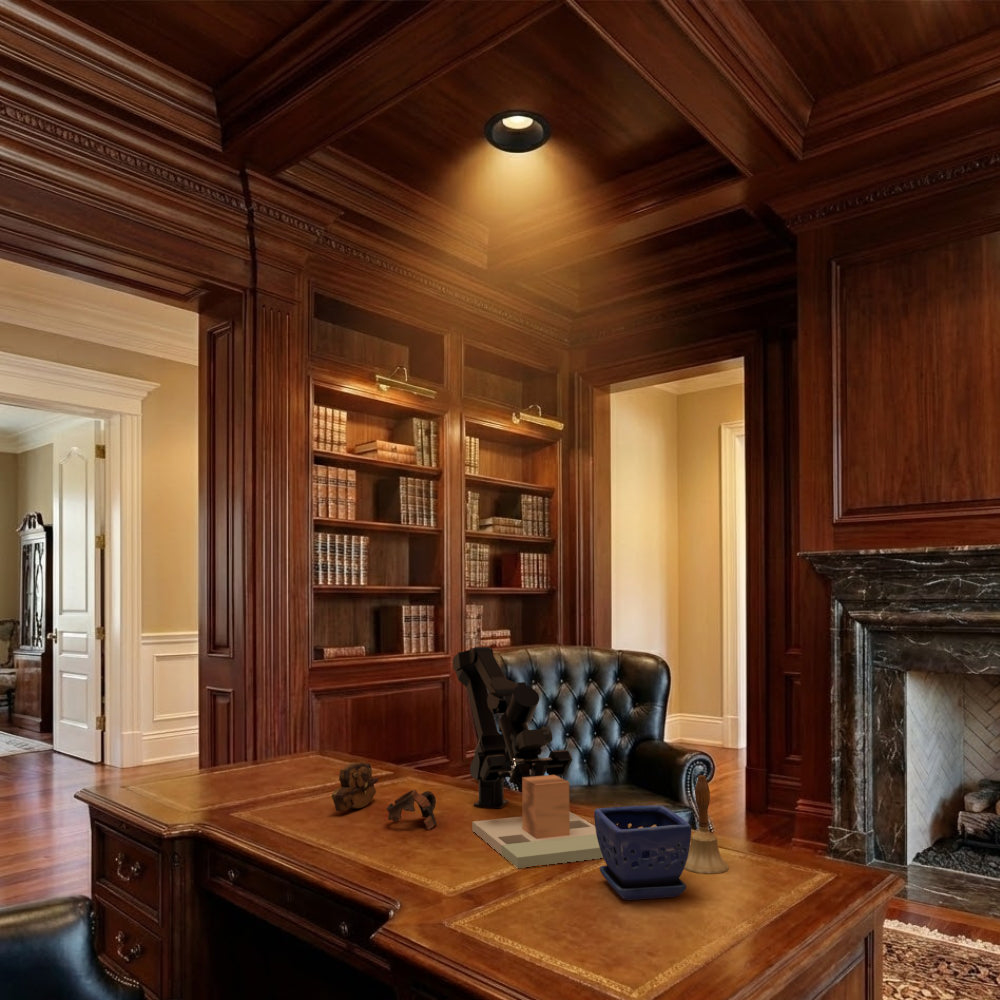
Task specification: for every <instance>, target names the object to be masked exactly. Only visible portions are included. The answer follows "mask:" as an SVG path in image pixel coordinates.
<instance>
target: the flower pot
mask: <svg viewBox="0 0 1000 1000" xmlns="http://www.w3.org/2000/svg"><path fill="white" fill-rule="evenodd" d="M593 812H594V813H593V816H594V826H595V829H596V835H597V839H598V843H599V847H600V850H601V853H602V855H603V860H604V862H605V864H606V865H602V866H600V867H599V871H600V873H601V875H602V877H603V878H604V879H605V880H606V881H607V883H608V884H609V885H610V886H611V888H613V890H614V891H615V892H616V893H617V894H618V895H619V896H620V897H621V898H622V899H623V900H626V901H632V900H633V901H634V900H635V901H636V900H647V899H650V900H651V899H661V898H663V899H664V898H675V897H678V896H680V895H682V893H684V891H686V889H687V884H686V883H685V882H684V881H682V879H681V878H680V877H681V876H682V875H683V871H684V870H685V869H684V867H685V865H686V862H687V858H688V854H689V849H690V845H691V836H692V826H691V825H690V823H688V822H687V821H686V820H685V819H684V818H682V817H681V816H680V815H678V814H677V813H676V812H674V811H673V810H671V809H669V808H668V807H666V806H664V805H660V804H659V805H658V804H656V805H655V804H654V805H630V806H629V805H628V806H617V807H616V806H614V807H613V806H612V807H601V808H595V809H594V811H593ZM629 825H630V827H629Z"/></svg>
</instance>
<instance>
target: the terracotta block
mask: <svg viewBox="0 0 1000 1000" xmlns="http://www.w3.org/2000/svg"><path fill="white" fill-rule="evenodd" d="M521 792H522V798H521V799H522V803H521V804H522V806H521V807H522V810H521V811H522V816H521V817H522V829H523V830H524V831H526V832H527V833H529V834H530V835H532V836H533V837H534V838H536V839H540V838H548V837H557V836H566V835H570V821H569V812H570V782H569V781H568V780H566V779H564V778H561V776H556V775H548V774H547V775H546V774H544V776H534V777H522V789H521Z"/></svg>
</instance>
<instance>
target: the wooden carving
mask: <svg viewBox="0 0 1000 1000" xmlns="http://www.w3.org/2000/svg"><path fill="white" fill-rule="evenodd" d="M372 769H373V768H372V766H371V764H370V763H369V762H368V763H365V762H360V761H359V762H350V763H348V764H346V765H345V766H344V767H343V768H342V769H340V770H339V775H338V779H339V782H340V787H337V788H335V789H334V790H333V792H332V794H331V799H332V800H333V803H334V808H335V811H336V812H346V811H348V810H353V809H362V808H364V807H366V806H367V805H368V804H369V803H371V801H372V800H373V799H374V797H375V795H376V793H377V789H376V787H375V784H377V783H378V782H379V777H374V776H373V774H372V773H373V770H372Z"/></svg>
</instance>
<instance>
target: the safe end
mask: <svg viewBox="0 0 1000 1000" xmlns="http://www.w3.org/2000/svg"><path fill="white" fill-rule="evenodd" d="M502 856H503V858H504V857H505V858H506V859H507V860H508V861H510V862H511V863H512V864H513V865H515V866H516V867H517V868H523V867H529V866H537V865H546V864H547V866H550V865H549V864H555V865H558V864H557V863H563V864H568V863H567V862H571V863H577V862H576V861H579V862H585V861H584V860H587V861H593V860H592V859H595V860H601V859H600V858H603V855H602V853H601V850H600V847H599V843H598V839H597V835H596V834H593V835H584V836H575V837H566V838H558V839H549V840H540V841H531V842H523V843H514V844H505V845H502ZM502 856H501V857H502ZM505 858H504V859H505ZM506 859H505V860H506ZM603 859H604V858H603ZM507 860H506V861H507ZM508 861H507V862H508ZM510 862H509V863H510ZM511 863H510V864H511ZM512 864H511V865H512ZM513 865H512V866H513ZM516 867H515V868H516ZM517 868H516V869H517ZM523 869H524V868H523Z"/></svg>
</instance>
